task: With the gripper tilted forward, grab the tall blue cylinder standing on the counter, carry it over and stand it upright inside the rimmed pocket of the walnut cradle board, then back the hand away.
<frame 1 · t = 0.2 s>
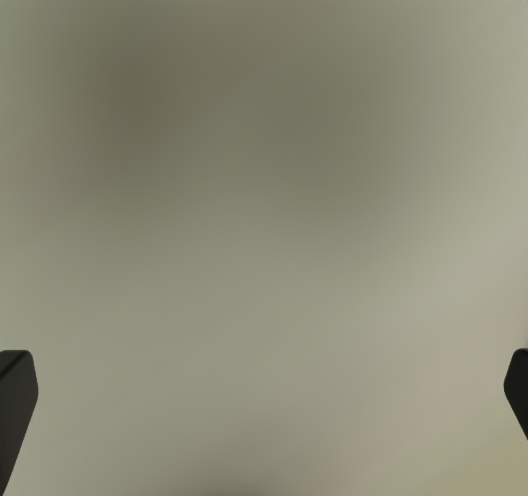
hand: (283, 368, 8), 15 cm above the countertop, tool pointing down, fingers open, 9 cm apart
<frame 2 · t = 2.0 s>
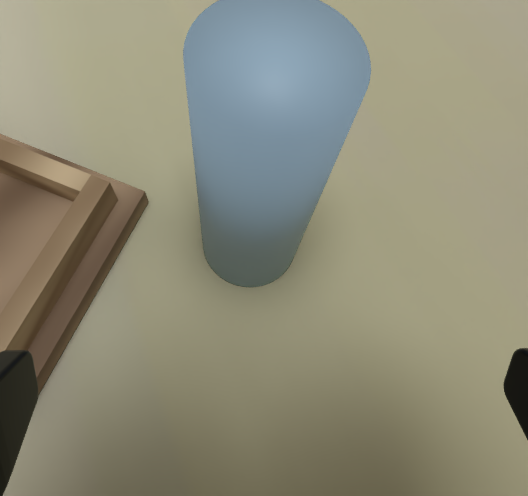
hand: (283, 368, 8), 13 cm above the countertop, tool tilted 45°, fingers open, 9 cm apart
tall blue cylinder: (249, 242, 24), on the countertop
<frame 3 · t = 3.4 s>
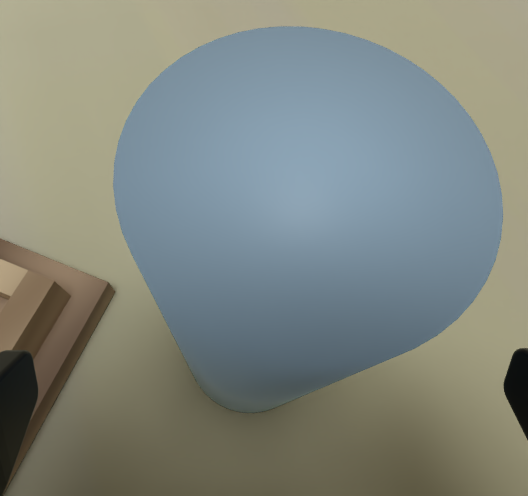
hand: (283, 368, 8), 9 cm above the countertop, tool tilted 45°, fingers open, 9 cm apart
tall blue cylinder: (250, 346, 18), on the countertop
when the fingers open (9 cm above the countertop, at t = 8.9 s): tall blue cylinder drops 1 cm, resting on cradle.
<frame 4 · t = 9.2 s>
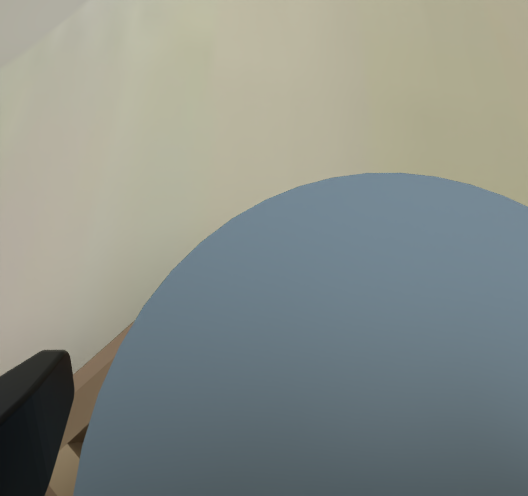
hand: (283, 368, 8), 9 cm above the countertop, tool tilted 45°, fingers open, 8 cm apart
cradle: (251, 437, 16), on the countertop
tall blue cylinder: (252, 440, 15), point 1 cm above the countertop, touching cradle
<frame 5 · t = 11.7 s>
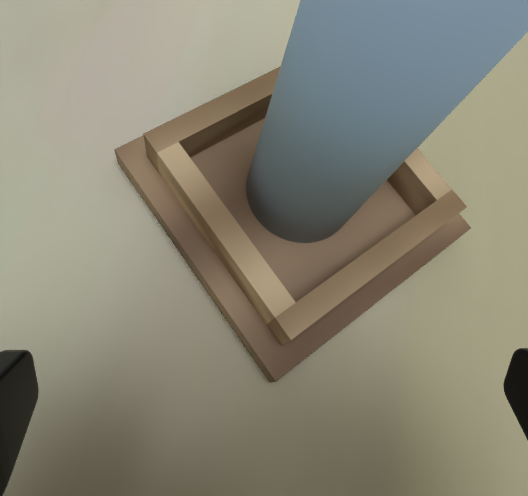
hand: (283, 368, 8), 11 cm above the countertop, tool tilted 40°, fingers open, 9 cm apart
cradle: (295, 201, 21), on the countertop
tall blue cylinder: (300, 191, 20), point 1 cm above the countertop, touching cradle
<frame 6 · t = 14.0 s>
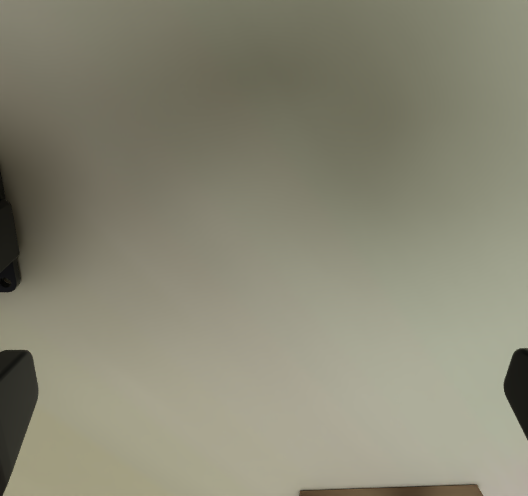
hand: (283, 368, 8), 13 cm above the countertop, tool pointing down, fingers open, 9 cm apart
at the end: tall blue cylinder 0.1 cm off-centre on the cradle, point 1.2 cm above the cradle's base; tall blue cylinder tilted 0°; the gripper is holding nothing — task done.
